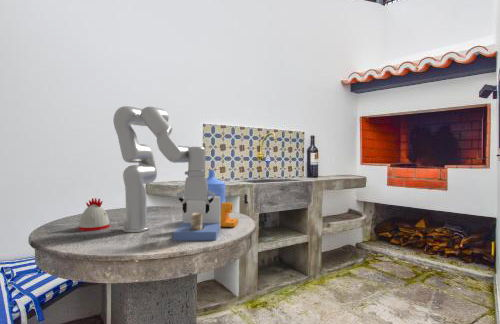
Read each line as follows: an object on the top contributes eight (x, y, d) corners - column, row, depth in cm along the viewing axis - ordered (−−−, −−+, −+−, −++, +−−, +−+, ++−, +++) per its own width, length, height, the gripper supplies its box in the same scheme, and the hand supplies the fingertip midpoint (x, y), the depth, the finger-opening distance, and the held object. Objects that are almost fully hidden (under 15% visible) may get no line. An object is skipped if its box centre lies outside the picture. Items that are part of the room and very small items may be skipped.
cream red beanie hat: (100, 231, 148) (99, 200, 148) (72, 231, 149) (72, 200, 149) (114, 224, 162) (114, 196, 162) (89, 224, 163) (89, 196, 162)
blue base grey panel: (173, 240, 130) (173, 202, 130) (183, 229, 150) (183, 196, 150) (215, 240, 131) (215, 202, 130) (220, 229, 151) (220, 196, 150)
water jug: (214, 216, 185) (214, 169, 184) (231, 219, 173) (230, 170, 173) (192, 219, 174) (191, 170, 174) (208, 224, 162) (207, 171, 162)
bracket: (233, 228, 153) (233, 204, 152) (219, 227, 154) (219, 203, 154) (238, 223, 163) (238, 201, 163) (225, 223, 165) (225, 200, 164)
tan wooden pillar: (191, 237, 135) (191, 215, 134) (193, 234, 141) (193, 212, 140) (200, 237, 135) (200, 215, 134) (202, 234, 141) (202, 212, 140)
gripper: (175, 174, 133) (174, 213, 134) (215, 175, 133) (214, 214, 134) (179, 173, 141) (178, 210, 141) (216, 174, 141) (216, 211, 141)
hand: (196, 212), depth 138 cm, fingers open, 9 cm apart
